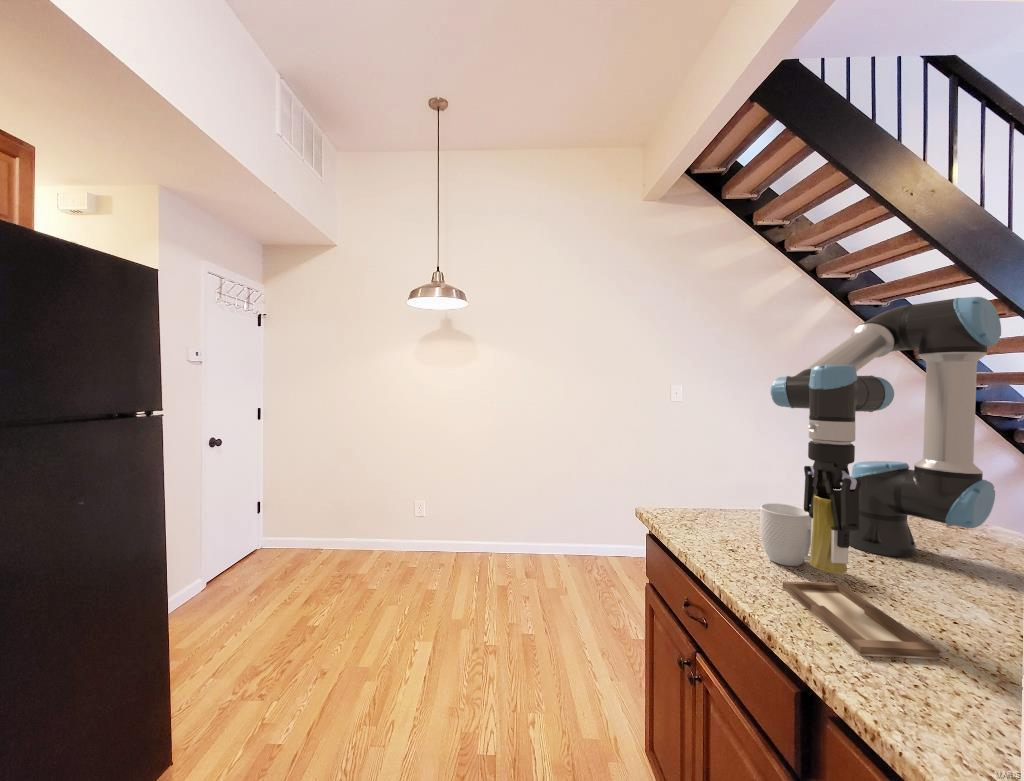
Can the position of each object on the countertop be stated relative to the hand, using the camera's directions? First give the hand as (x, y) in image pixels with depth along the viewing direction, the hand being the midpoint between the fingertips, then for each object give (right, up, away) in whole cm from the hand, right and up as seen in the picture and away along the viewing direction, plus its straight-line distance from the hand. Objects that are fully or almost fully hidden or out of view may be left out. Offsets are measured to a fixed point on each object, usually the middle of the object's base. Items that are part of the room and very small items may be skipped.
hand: (828, 555), depth 87 cm
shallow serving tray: (0, -10, -6) cm, 11 cm away
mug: (+5, -9, +20) cm, 22 cm away
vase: (0, -3, 0) cm, 3 cm away
